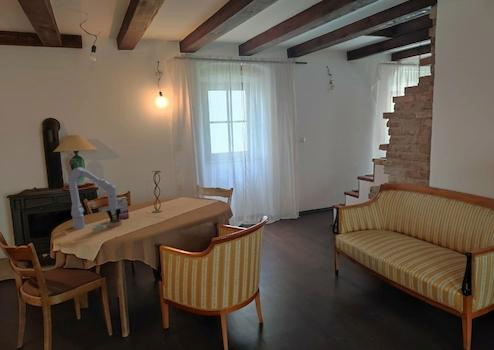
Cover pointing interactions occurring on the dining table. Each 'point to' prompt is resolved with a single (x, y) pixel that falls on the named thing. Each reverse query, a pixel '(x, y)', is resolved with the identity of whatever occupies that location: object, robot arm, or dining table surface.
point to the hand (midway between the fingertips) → (114, 220)
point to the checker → (98, 227)
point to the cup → (114, 223)
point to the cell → (114, 218)
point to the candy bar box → (124, 211)
